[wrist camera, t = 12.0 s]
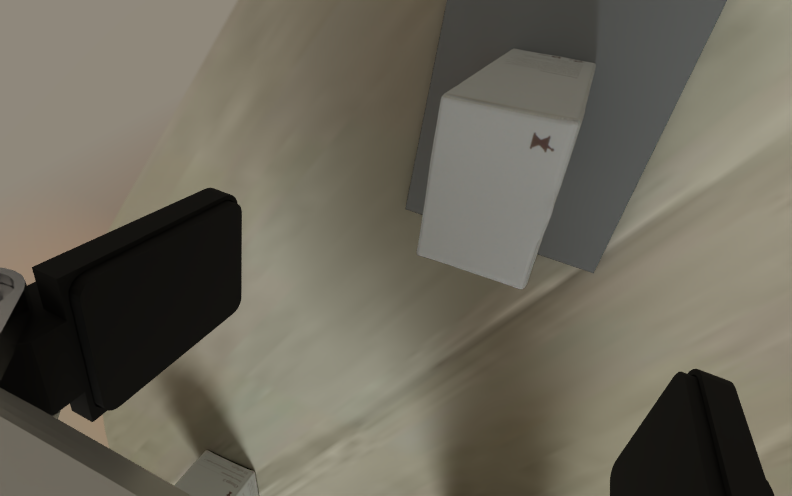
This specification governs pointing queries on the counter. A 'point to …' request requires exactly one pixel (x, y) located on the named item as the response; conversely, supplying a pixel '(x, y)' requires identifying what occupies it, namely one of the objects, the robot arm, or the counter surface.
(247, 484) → the supplement box
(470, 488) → the counter surface
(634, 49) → the mat
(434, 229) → the skincare box
